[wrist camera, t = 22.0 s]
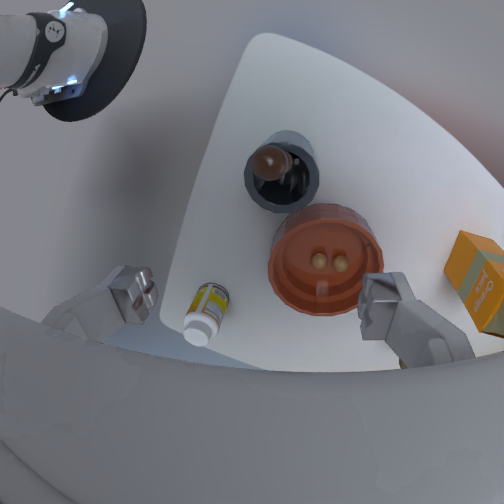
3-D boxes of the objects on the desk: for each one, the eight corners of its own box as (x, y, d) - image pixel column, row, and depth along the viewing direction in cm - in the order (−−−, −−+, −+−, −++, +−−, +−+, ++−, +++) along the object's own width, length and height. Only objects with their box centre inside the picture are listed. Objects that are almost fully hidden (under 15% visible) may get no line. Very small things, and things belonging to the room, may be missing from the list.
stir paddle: (277, 167, 33) (238, 182, 13) (277, 153, 32) (238, 144, 12) (299, 168, 32) (298, 183, 12) (299, 154, 32) (298, 144, 12)
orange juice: (476, 277, 35) (525, 360, 18) (442, 270, 36) (492, 364, 19) (493, 239, 31) (556, 316, 14) (460, 228, 32) (529, 315, 15)
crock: (264, 178, 35) (247, 213, 25) (261, 131, 32) (241, 143, 21) (313, 178, 34) (318, 213, 23) (312, 130, 30) (318, 141, 20)
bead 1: (314, 271, 36) (317, 274, 38) (329, 262, 36) (331, 266, 38) (306, 256, 37) (310, 260, 39) (321, 248, 37) (324, 252, 39)
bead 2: (327, 267, 38) (331, 260, 36) (337, 256, 39) (341, 249, 37) (340, 278, 37) (344, 271, 35) (349, 266, 38) (354, 259, 36)
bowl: (274, 291, 44) (270, 314, 39) (270, 201, 36) (265, 217, 32) (366, 293, 41) (372, 316, 36) (380, 204, 33) (392, 220, 29)
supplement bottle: (200, 303, 48) (180, 345, 39) (198, 279, 45) (175, 321, 37) (229, 309, 48) (214, 353, 39) (230, 284, 45) (213, 329, 36)
